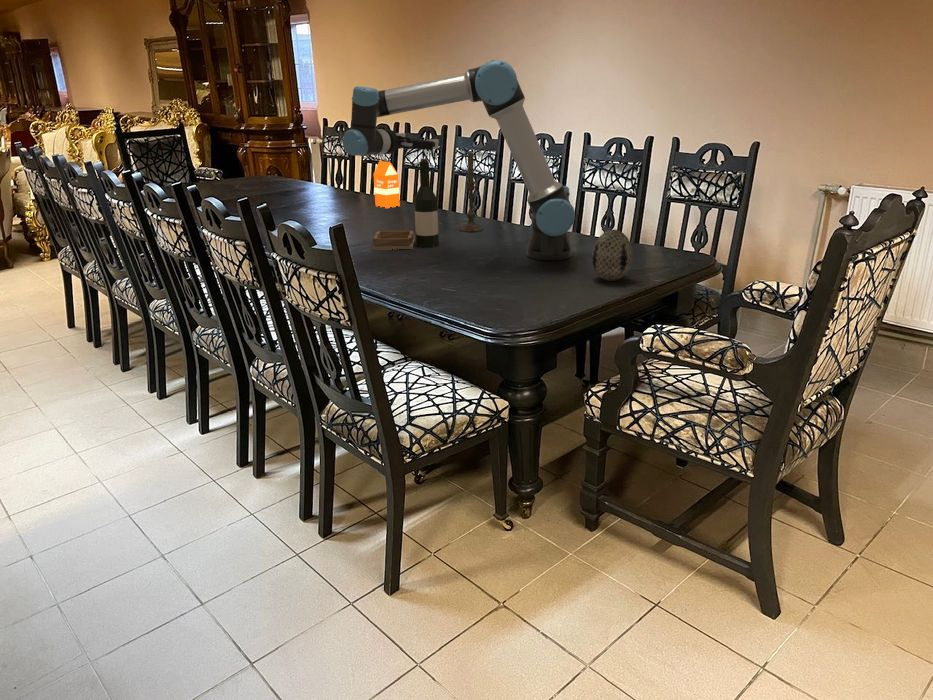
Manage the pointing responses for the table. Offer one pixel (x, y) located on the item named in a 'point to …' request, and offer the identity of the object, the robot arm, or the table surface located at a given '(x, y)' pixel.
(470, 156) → the candlestick holder
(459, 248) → the table surface
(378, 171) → the orange juice
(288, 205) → the table surface
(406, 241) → the wooden crate
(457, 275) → the table surface
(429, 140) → the robot arm
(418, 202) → the wine bottle
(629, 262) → the decorative egg
